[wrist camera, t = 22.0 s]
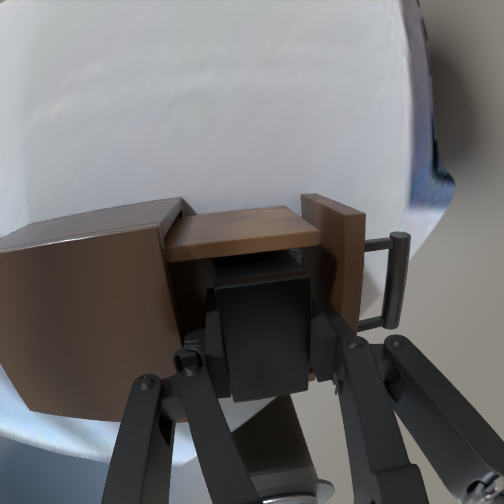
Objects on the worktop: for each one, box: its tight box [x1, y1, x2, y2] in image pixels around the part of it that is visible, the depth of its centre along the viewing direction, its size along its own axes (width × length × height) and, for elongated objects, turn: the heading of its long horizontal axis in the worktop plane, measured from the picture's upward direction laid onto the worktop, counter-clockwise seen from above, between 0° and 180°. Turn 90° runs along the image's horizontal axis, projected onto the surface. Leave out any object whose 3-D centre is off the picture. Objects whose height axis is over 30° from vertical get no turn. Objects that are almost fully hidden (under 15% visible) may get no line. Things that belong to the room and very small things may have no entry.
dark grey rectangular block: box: [214, 249, 312, 403], centre depth 16 cm, size 4×7×5 cm, turn 5°
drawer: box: [163, 193, 411, 394], centre depth 19 cm, size 18×11×8 cm, turn 95°
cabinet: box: [0, 197, 188, 423], centre depth 18 cm, size 15×13×10 cm
